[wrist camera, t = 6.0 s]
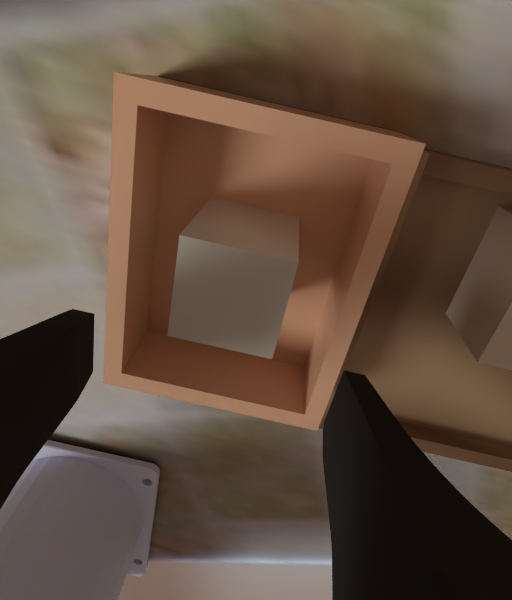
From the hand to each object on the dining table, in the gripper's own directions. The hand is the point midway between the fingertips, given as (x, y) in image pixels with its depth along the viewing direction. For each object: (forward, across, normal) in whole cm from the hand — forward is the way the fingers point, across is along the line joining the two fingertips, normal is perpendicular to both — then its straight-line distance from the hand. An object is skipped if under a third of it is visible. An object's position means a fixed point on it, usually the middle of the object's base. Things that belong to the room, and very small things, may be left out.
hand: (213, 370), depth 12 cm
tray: (+5, -9, -1) cm, 10 cm away
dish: (+5, 0, -2) cm, 5 cm away
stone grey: (+2, 0, -1) cm, 2 cm away
